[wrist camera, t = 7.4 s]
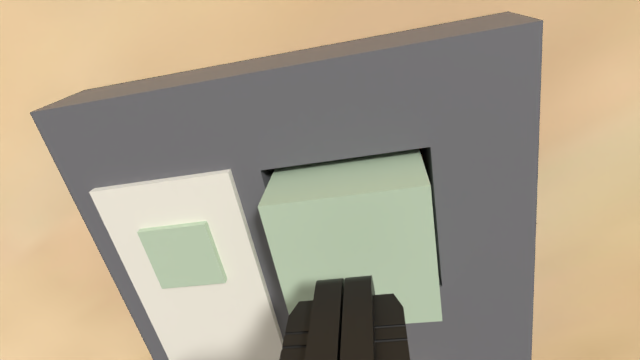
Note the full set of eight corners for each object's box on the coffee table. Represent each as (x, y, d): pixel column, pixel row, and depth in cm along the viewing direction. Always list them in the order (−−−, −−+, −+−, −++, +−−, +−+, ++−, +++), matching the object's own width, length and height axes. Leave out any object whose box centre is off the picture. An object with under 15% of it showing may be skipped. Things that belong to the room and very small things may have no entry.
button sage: (416, 140, 15) (430, 185, 11) (427, 256, 17) (442, 321, 14) (278, 159, 15) (257, 206, 12) (306, 267, 18) (293, 331, 14)
